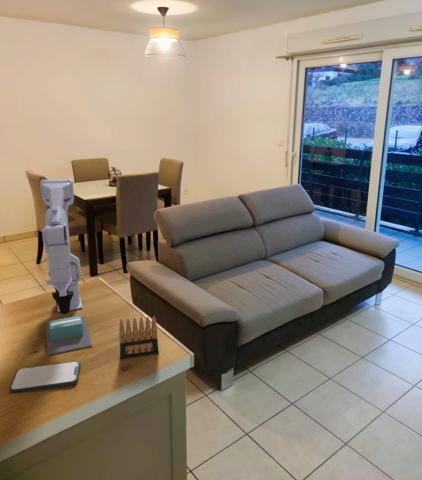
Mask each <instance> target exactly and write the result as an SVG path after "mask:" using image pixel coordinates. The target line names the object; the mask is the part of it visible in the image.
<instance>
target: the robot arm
mask: <svg viewBox="0 0 422 480" xmlns="http://www.w3.org/2000/svg"><path fill="white" fill-rule="evenodd" d="M39 189H40V194H41V195H40V196H41V198H42V200H43V203H44V204H45V205H46V206H47V207H49V208H48V209H47V210H46V211H45V223H44V226H45V227H42V231H41V232H42V233H41V235H42V236H41V237H42V242H43V245H44V249H45V253H46V256H47V264H48V272H49V279H47V280H46V285H48V286H49V285H51V286H52V287H53V288H54V290H55V292H52V293H51V297H52V298H53V300H54V301H55V302H56V306H57V307H56V308H57V313H60V314H61V315H67V314H70V311H74V310H79V309H82V308H83V304H82V299H81V296H80V289H79V282H80V281H81V280H82V267H81V261H80V259H79V257H77V256H76V255H74V254H72V253H71V239H70V230H69V229H70V227H69V219H68V217H69V216H68V210H69V206H71V205H73V204H74V201H75V197H74V196H75V193H74V181H73V179H72V178H58V179H54V178H53V179H44V178H43V179H41V180H40V182H39Z"/></svg>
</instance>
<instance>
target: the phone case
mask: <svg viewBox="0 0 422 480" xmlns="http://www.w3.org/2000/svg"><path fill="white" fill-rule="evenodd" d="M80 369H81V362H79V361H68V362H61V363H55V364H47V365H39V366H30V367H23V368H19V369H17V370H16V371H15V372H14V373H15V374H14V375H13V378H12V380H11V383H10V385H9V392H10V393H11V394H21V393H29V392H36V391H44V390H50V389H51V390H52V389H58V388H59V389H60V388H66V387H74V386H76V385H77V384H78V382H79V378H80Z"/></svg>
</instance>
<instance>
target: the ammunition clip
mask: <svg viewBox="0 0 422 480" xmlns="http://www.w3.org/2000/svg"><path fill="white" fill-rule="evenodd" d="M132 320H133V321H132V324H131V321H130V319H129V318H127V320H126V323H125V324H124V320H123V319H120V320H119V332H118V333H119V335H118V336H119V357H120V358H119V359H120V360H125V359H133V358H139V357H146V356H153V355H159V353H160V352H159V351H160V350H159V342H158V327H157V319H156V316H155V315H153V316H152V319H151V320H150V317H149V316H146V318H145V326H144V320H143V317H142V316H141V317H140V318H139V323H138V322H137V319H136V317H134V318H133V319H132ZM131 325H132V327H131ZM138 325H139V326H138ZM125 329H126V330H125Z"/></svg>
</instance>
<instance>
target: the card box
mask: <svg viewBox="0 0 422 480" xmlns="http://www.w3.org/2000/svg"><path fill="white" fill-rule="evenodd" d="M48 322H50V332H51V340H52V341H55V340H60V339H65V338H70V337H75V336H80V335H83V326H82V320H81V315H76V316H72V317H71V316H70V317H65V318H60V319H52V320H49V321H48Z"/></svg>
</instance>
